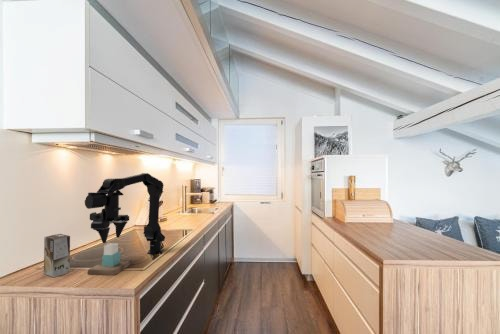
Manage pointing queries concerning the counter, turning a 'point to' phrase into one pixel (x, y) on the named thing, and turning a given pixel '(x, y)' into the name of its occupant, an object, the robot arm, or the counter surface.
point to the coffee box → (56, 255)
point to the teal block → (111, 260)
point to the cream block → (110, 248)
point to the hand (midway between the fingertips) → (111, 240)
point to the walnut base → (109, 268)
